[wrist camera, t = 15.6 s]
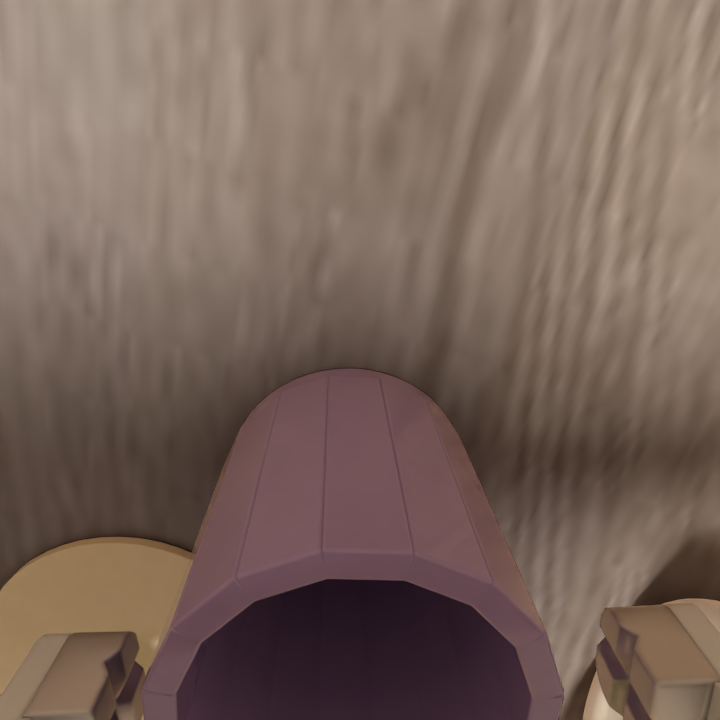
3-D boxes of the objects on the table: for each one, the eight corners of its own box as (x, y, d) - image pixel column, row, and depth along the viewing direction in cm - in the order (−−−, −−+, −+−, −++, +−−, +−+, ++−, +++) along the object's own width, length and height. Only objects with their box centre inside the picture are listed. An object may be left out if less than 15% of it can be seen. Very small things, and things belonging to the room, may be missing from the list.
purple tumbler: (230, 572, 16) (154, 862, 9) (226, 362, 14) (126, 545, 7) (450, 577, 16) (527, 860, 10) (478, 373, 14) (599, 557, 8)
